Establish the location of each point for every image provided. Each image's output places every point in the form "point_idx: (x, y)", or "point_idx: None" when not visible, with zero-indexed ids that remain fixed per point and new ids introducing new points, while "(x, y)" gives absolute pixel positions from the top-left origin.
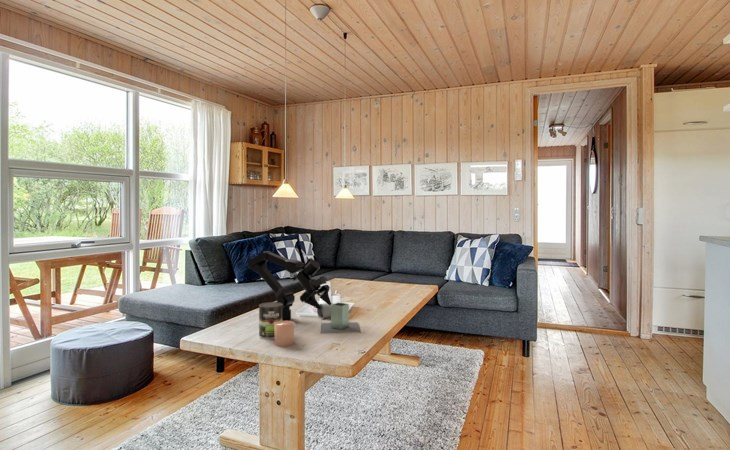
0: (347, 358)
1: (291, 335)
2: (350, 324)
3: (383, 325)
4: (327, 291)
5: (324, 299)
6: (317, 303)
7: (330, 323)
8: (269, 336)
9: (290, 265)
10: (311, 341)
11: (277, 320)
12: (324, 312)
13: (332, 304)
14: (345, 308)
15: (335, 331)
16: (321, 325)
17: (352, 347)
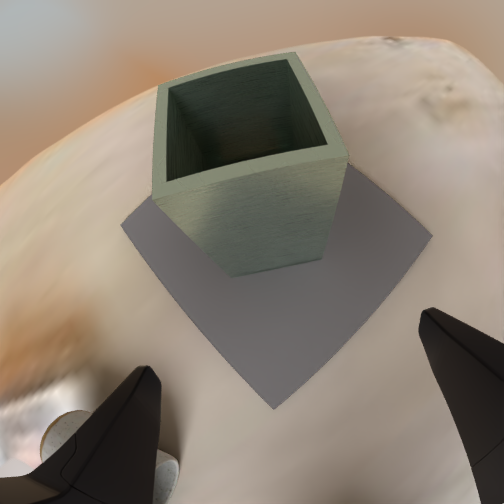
0: (447, 52)
1: None
2: (174, 223)
3: (111, 131)
4: (8, 491)
5: (139, 490)
6: (491, 339)
7: (234, 348)
8: None
9: None
10: (499, 199)
11: None
12: (160, 462)
13: (54, 448)
14: (234, 89)
15: (348, 193)
16: (316, 365)
17: (400, 63)
